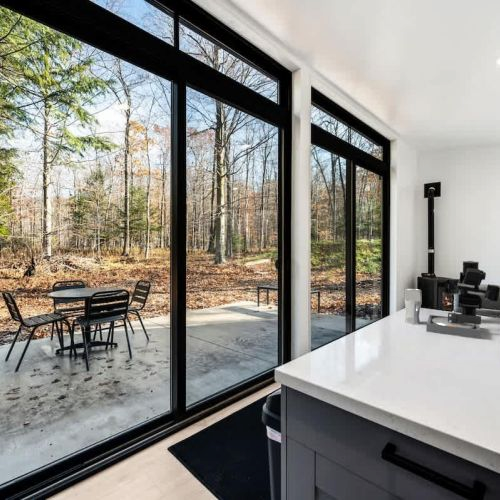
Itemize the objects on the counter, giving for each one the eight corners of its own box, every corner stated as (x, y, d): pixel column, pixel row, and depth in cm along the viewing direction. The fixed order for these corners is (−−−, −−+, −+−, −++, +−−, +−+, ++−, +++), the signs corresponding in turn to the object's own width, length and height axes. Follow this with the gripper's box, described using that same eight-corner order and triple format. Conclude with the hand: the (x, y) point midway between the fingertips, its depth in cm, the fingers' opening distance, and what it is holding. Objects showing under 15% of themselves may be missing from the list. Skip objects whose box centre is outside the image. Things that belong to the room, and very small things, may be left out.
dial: (430, 326, 131) (431, 314, 131) (433, 319, 143) (433, 308, 143) (481, 333, 122) (482, 320, 121) (479, 324, 134) (479, 313, 134)
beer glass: (405, 323, 142) (406, 290, 142) (402, 320, 149) (403, 288, 149) (422, 325, 140) (423, 291, 140) (419, 321, 147) (419, 288, 147)
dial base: (429, 321, 146) (429, 314, 145) (477, 327, 136) (478, 319, 136) (426, 331, 131) (426, 323, 130) (480, 338, 121) (480, 329, 121)
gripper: (448, 264, 143) (447, 270, 130) (500, 271, 133) (504, 278, 120) (444, 288, 145) (443, 296, 132) (495, 296, 135) (499, 306, 122)
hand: (471, 294), depth 126 cm, fingers open, 9 cm apart
